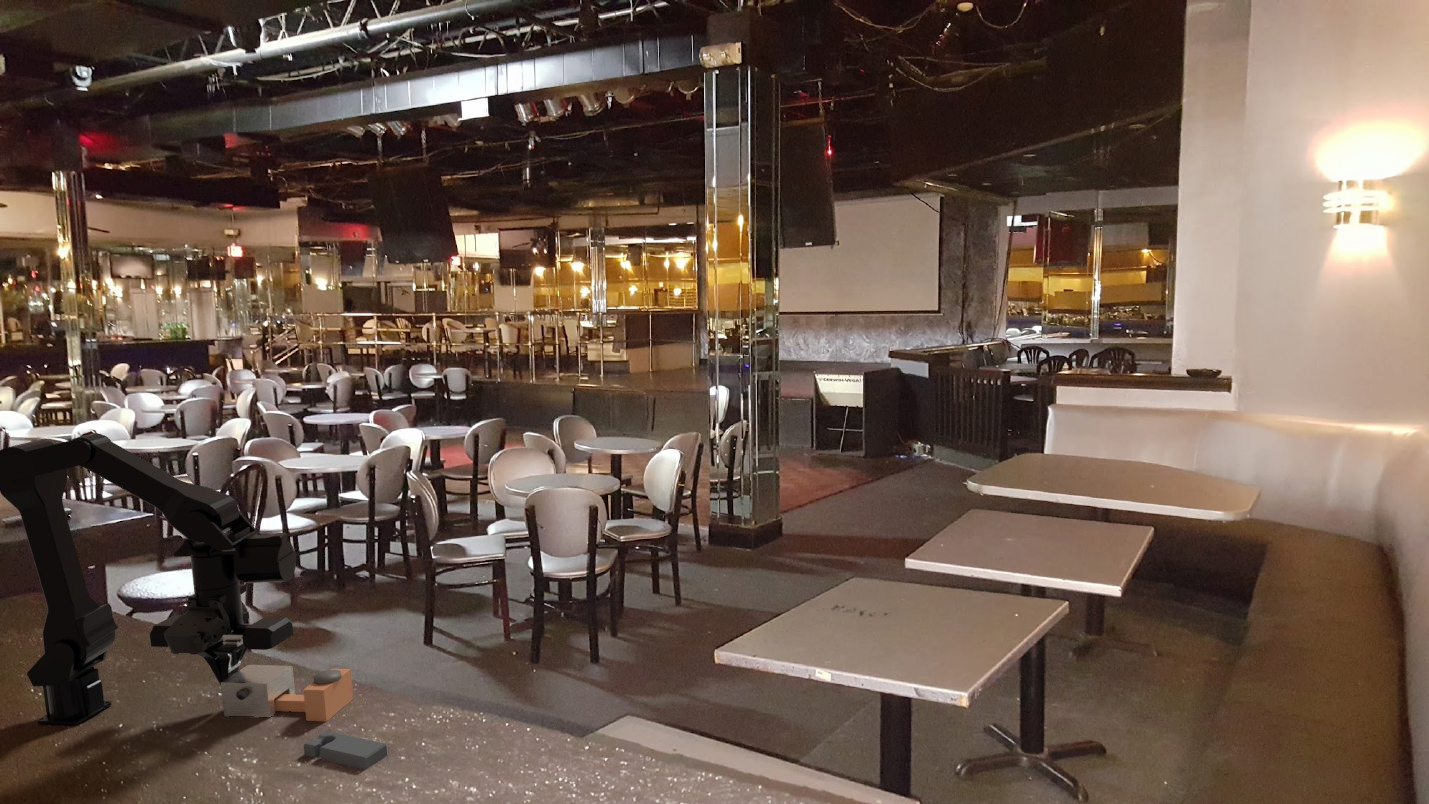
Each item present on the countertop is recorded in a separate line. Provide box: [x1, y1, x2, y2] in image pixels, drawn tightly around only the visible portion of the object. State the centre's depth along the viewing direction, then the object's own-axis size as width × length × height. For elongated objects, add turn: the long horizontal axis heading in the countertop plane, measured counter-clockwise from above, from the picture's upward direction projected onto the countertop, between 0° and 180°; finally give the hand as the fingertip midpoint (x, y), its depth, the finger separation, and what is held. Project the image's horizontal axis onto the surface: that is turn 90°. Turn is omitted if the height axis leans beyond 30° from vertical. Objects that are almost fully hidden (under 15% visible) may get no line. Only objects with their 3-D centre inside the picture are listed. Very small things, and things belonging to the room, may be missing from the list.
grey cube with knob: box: [220, 664, 296, 718], centre depth 129 cm, size 7×7×5 cm
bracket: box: [303, 730, 388, 770], centre depth 115 cm, size 4×10×2 cm, turn 66°
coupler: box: [274, 668, 354, 722], centre depth 129 cm, size 13×7×5 cm, turn 82°
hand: (227, 688), depth 130 cm, fingers closed
